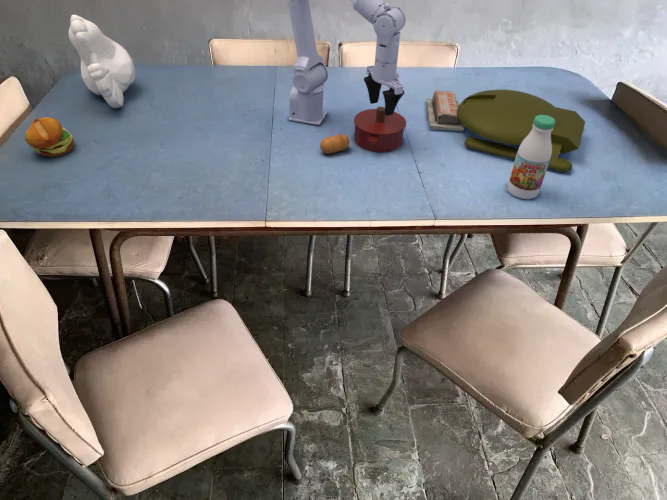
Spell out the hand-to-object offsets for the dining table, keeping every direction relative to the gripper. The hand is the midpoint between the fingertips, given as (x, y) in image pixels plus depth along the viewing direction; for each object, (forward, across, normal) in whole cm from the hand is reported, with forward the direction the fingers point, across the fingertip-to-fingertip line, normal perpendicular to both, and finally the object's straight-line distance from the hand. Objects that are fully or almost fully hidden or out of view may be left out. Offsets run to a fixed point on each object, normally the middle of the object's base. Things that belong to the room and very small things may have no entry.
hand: (381, 108), depth 148 cm
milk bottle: (+10, -37, -19) cm, 43 cm away
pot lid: (+4, 0, 0) cm, 4 cm away
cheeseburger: (+10, +33, +81) cm, 87 cm away
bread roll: (+10, 0, +14) cm, 17 cm away
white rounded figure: (+10, +57, +62) cm, 85 cm away
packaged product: (+10, +3, -25) cm, 27 cm away
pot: (+10, 0, 0) cm, 10 cm away
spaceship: (+10, -15, -38) cm, 41 cm away
